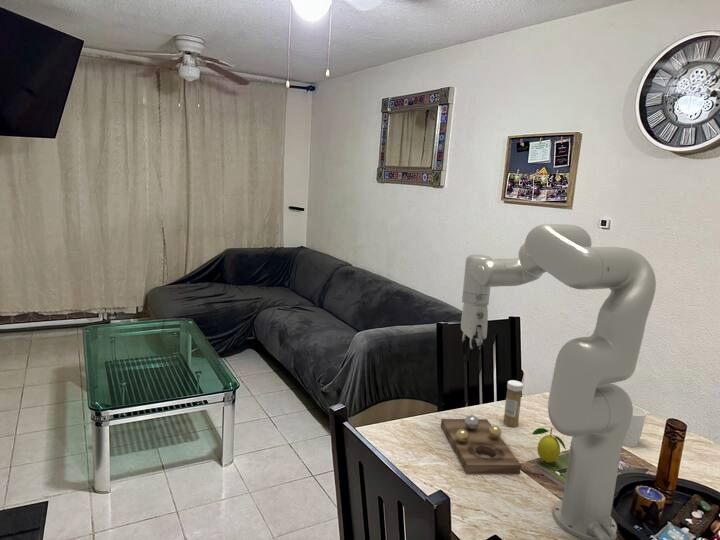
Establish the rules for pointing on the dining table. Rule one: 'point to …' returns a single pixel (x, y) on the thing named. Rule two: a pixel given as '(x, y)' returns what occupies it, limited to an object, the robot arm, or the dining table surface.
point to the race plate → (480, 449)
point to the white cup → (635, 427)
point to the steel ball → (471, 422)
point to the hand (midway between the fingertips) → (469, 357)
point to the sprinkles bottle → (512, 403)
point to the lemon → (548, 446)
